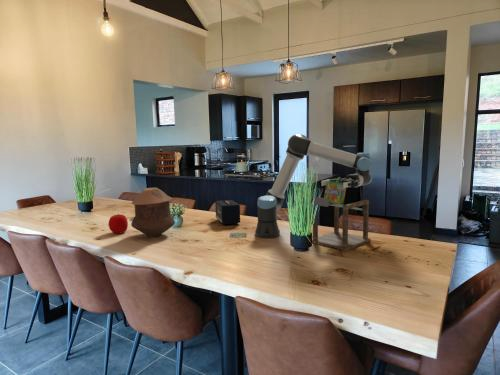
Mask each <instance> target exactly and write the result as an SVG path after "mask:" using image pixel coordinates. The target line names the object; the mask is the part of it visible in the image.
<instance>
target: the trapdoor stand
mask: <svg viewBox="0 0 500 375" xmlns="http://www.w3.org/2000/svg"><path fill="white" fill-rule="evenodd" d="M361 206H363V215H362V216H363V220H362V236H360V235H355V234H350V233H349V210H350V209H351V208H355V207H357V208H359V207H361ZM333 207H334V212H333V213H334V214H333V217H334V218H333V221H334V222H333V231H332V232H329V233H326V234H323V235H321V236H319V209H318V210H317V213H316V218H315V222H314V224H313V223H312V238H311V239H312V242H315V243H319V244H322V245H321V246H323V245H326V246H325V247H327V246H330V247H329V248H331V247H334V248H333V249H335V248H337V249H336V250H339V249H341V250H340V251H343V250H345V251H344V252H348V251H350V250H352V248H353V249H355V248H357V247H359V245H360V246H362V245H364V244H363V243H365V244H367V243H369V242H371V238H370V237H369V218H370V217H369V213H370V212H369V211H370V208H369V207H370V200H369V199H363V200H359V201H356V202H350V203H347V204H344V205H343V208H342V231H340V207H336V206H333ZM351 210H352V209H351ZM368 241H369V242H368ZM366 242H367V243H366ZM315 243H314V244H315ZM319 244H318V245H319ZM361 244H362V245H361ZM356 246H357V247H356ZM354 247H355V248H354ZM349 249H350V250H349ZM347 250H348V251H347Z"/></svg>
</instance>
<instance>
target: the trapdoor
mask: <svg viewBox="0 0 500 375" xmlns="http://www.w3.org/2000/svg"><path fill="white" fill-rule="evenodd" d="M314 197H315V201H314V205H318V207H319V206H320V207H326V208H329V206H332V207H334V206H336V207H339V208H342V209H343V205H341V204H334V203H329V200H330V199H327V198H324V197H319V196H314ZM351 210H355V211H356V210H357V211H363V212H364V208H361V207H355V208H351Z"/></svg>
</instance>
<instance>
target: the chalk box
mask: <svg viewBox="0 0 500 375" xmlns="http://www.w3.org/2000/svg"><path fill="white" fill-rule="evenodd" d="M336 179H337V181H336V182H333V181H328V182H327V184H326V185H325V190H324V195H323V198H327V199H330V200H329V203H334V204H341V205H345V204H344V203H345V197H346V191H347V187H346V188H343V183H342V182H341V183H340V182H339V180H340V179H342V178H341V176H338V177H337V178H336ZM338 179H339V180H338Z"/></svg>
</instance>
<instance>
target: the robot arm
mask: <svg viewBox="0 0 500 375" xmlns="http://www.w3.org/2000/svg"><path fill="white" fill-rule="evenodd" d="M285 153H286V156H285V159H284V161H283V163H282V165H281V167H280V170H279V171H278V174H277V176H276V179H275V181H274V183H273V185H272V188H271V189H268V191H267V192H266V195H263V196H262V195H261V196H260V197H258V198H257V202H256V205H257V224H256V228H255V230H254V234H255V237H258V238H264V239H265V238H267V239H269V238H271V239H272V238H277V237H280V232H281V230H280V229H279V225H278V221H277V220H278V218H277V217H278V214H277V213H278V212H279V211H280V210H281V209H282V206H283V203H284V200H285V198H286V197H285V192H286V190H287V188H288V186H289V185H290V182H291V180H292V178H293V175H294V173H295V171H296V168H297V167H298V164H299V163H300V161H302V160H303V159H304V158H305V156H306V157H308V156H312V157H315V158H320V159H322V160H326V161H328V162H333V163H336V164H340V165H343V166H346V167H349V168H353V169H355V173H353V174H347V175H346V176H345V177H344V178H340V180H339V179H338V178H329V179H328V178H325V180H321V187H323V186H326V184H327V182H328V181H333V182H336V181H337V179H338V180H339V182H340V183H343V188H346V189H347V188H350V189H351V188H358V187H360V186H366V185H367V186H368V185H369V184H371V183H372V181H373V175H372V174H371V173H370V169H371V167H372V160H371V157H370V153H369V152H357V153H356V154H355V153H352V152H348V151H345V150H342V149H338V148H335V147H331V146H328V145H324V144H321V143H317V142H314V141H313V139H310V138H308V137H307V136H306V135H305V134H302V133H300V134H299V133H298V134H293V135H291V136H290V137H289V139H288V141H287V148H286V151H285Z"/></svg>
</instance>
